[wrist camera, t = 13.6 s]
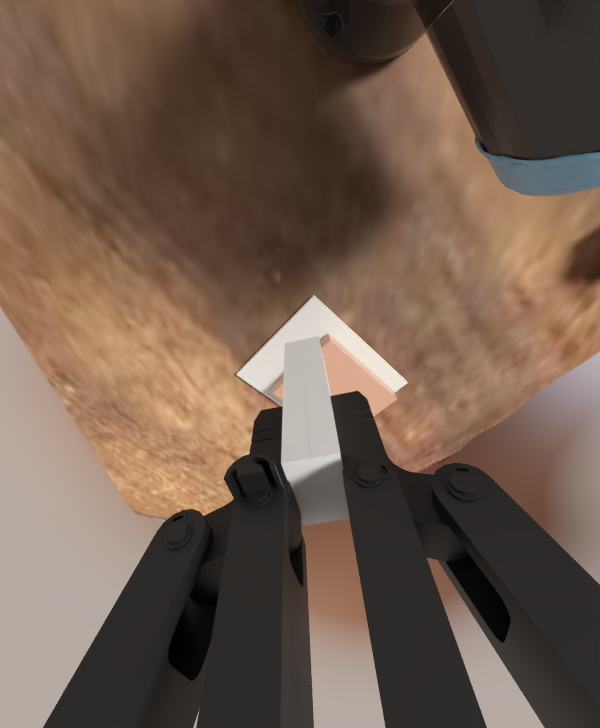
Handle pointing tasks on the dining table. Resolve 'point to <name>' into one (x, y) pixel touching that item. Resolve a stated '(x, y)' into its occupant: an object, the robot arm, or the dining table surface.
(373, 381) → the terracotta tile
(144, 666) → the robot arm
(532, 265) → the dining table surface
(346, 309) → the dining table surface
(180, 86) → the dining table surface
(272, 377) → the rubber mat
